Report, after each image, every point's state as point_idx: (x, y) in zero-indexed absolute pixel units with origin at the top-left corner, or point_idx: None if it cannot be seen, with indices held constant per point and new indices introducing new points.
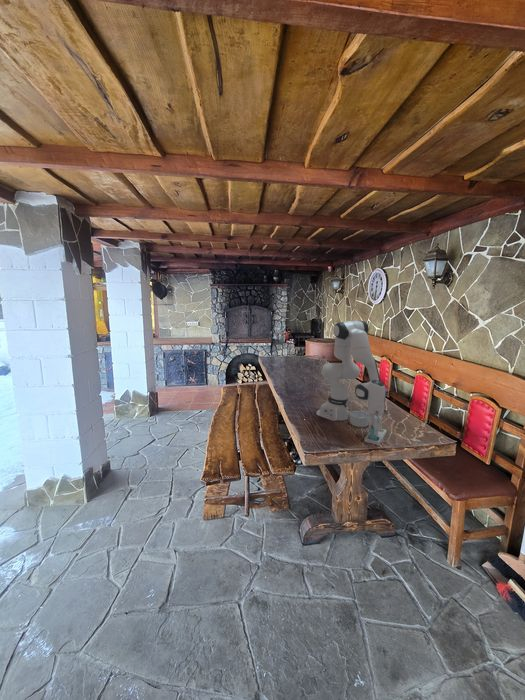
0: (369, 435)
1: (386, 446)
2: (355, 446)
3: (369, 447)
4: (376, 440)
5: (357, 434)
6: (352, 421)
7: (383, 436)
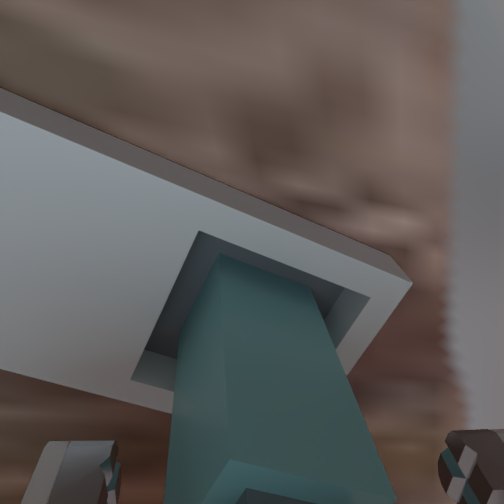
0: (135, 370)
1: (406, 138)
2: (414, 483)
3: (437, 368)
4: (275, 283)
5: None
6: None
7: (61, 126)
